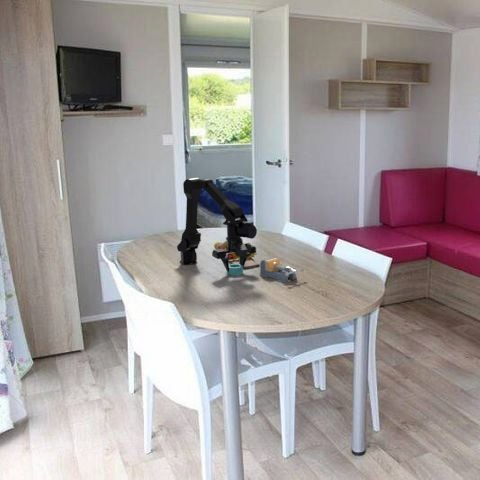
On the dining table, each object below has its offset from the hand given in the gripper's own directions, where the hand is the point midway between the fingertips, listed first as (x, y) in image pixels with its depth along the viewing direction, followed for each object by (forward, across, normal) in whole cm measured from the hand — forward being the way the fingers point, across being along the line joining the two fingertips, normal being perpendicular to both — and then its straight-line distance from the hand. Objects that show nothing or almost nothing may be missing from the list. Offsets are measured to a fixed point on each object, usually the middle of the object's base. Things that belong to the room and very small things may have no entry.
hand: (234, 270), depth 231 cm
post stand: (+1, +8, +9) cm, 12 cm away
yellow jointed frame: (+1, +15, +25) cm, 29 cm away
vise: (+1, +14, -15) cm, 21 cm away
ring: (+1, 0, 0) cm, 1 cm away
